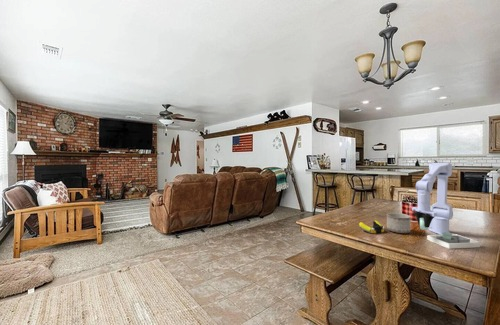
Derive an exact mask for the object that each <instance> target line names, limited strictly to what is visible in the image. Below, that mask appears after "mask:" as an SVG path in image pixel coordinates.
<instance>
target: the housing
mask: <svg viewBox="0 0 500 325" xmlns="http://www.w3.org/2000/svg"><path fill="white" fill-rule="evenodd" d="M451 233H452V232H450V233H446V232H442V234H443V235H440V234H429V235H427V236H426V237H427V238H426V240H428V241H430V242H432V243H434V244H437V245H439V246H442V247H444V248H446V249H449V250H451V249H453V250H454V249H469V248H472V249H473V248H481V246H482V245H481V241H477V240H475V239H472V238H469V237H466V236H463V235H460V234H456V233H453V234H451Z"/></svg>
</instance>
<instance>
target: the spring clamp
mask: <svg viewBox="0 0 500 325" xmlns="http://www.w3.org/2000/svg"><path fill="white" fill-rule="evenodd" d="M358 226H359V228H361V229H362V230H363V231H365V232H367V233H369V234H379V233H384V232H385V226H384V225H382V224H381V223H380V222H379V221H378V220H373V221H372V226H368V225H367V224H365V223H364V222H362V221H361V222H359V223H358Z"/></svg>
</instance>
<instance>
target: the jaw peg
mask: <svg viewBox="0 0 500 325" xmlns="http://www.w3.org/2000/svg"><path fill="white" fill-rule="evenodd" d="M419 229H420V230H423V231H429V230H428V229H429V227H425V226H424V218H420V225H419Z"/></svg>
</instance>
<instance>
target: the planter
mask: <svg viewBox="0 0 500 325" xmlns="http://www.w3.org/2000/svg"><path fill="white" fill-rule="evenodd" d="M386 230H388V231H390V232H393V233H397V234H409V233H411V216H410V215H408V214H405V213H401V212H400V213H399V212H398V213H397V212H389V213H387V214H386Z"/></svg>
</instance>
